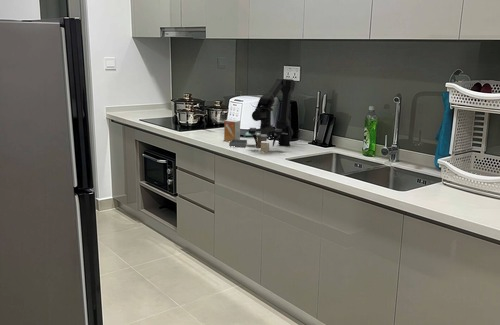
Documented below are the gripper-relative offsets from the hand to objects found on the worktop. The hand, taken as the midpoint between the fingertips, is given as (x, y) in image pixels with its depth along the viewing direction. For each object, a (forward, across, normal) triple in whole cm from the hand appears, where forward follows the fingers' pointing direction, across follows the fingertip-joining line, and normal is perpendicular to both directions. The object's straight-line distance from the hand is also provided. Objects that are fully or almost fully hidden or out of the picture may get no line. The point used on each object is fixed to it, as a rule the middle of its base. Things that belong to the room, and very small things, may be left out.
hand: (264, 146), depth 274 cm
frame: (+3, -2, +13) cm, 13 cm away
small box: (+3, -22, +26) cm, 34 cm away
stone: (+3, 0, 0) cm, 3 cm away
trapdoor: (-1, -6, +13) cm, 14 cm away
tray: (+3, -17, +13) cm, 21 cm away
